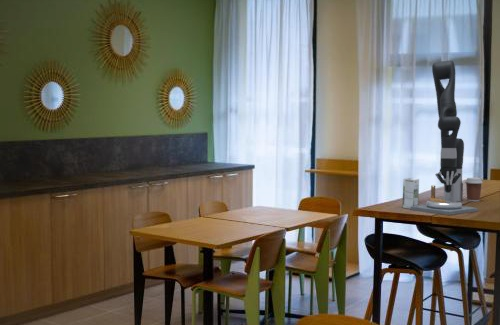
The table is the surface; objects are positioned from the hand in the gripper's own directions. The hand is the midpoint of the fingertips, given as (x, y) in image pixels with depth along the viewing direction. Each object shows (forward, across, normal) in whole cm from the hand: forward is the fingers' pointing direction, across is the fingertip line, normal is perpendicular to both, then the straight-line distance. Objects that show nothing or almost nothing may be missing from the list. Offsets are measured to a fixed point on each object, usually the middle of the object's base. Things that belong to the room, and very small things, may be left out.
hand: (447, 192), depth 325 cm
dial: (+6, +7, +8) cm, 13 cm away
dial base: (+7, +7, +10) cm, 15 cm away
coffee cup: (+8, -27, -24) cm, 37 cm away
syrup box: (+8, +19, 0) cm, 21 cm away
